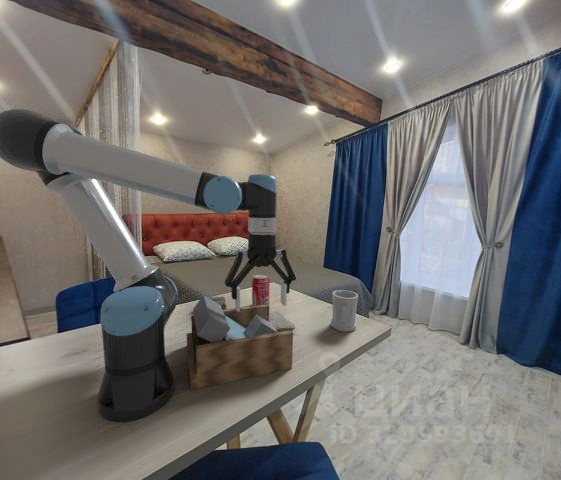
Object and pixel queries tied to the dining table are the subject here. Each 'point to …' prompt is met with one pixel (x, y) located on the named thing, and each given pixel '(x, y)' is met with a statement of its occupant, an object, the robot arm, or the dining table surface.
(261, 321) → the block
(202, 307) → the trapdoor
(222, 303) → the rock
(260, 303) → the soda can
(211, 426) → the dining table surface
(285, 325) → the stone
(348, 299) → the cup
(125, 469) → the dining table surface
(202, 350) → the brown open boxy piece
